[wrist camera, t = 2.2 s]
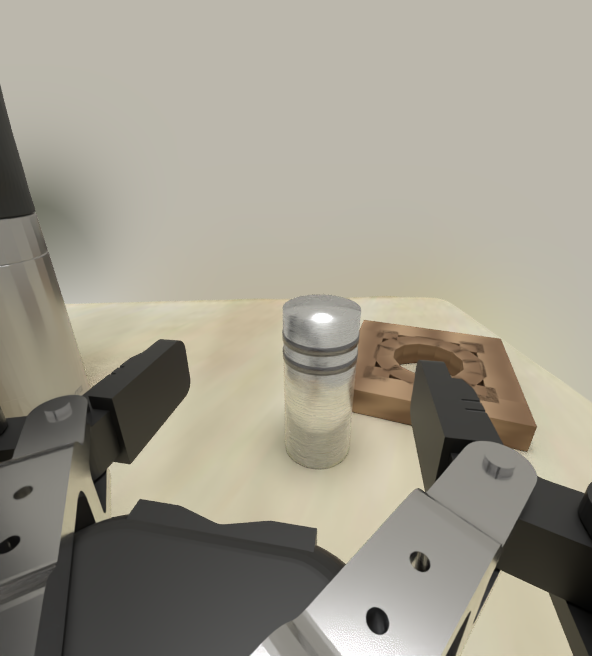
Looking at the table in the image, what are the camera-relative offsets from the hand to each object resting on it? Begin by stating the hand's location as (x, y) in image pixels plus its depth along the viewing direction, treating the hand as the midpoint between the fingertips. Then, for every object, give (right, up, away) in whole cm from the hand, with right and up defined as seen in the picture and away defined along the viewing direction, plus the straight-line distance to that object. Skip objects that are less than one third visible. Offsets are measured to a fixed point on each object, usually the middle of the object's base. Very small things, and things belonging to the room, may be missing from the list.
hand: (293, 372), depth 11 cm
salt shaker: (+2, -8, +16) cm, 18 cm away
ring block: (+14, -4, +25) cm, 28 cm away
